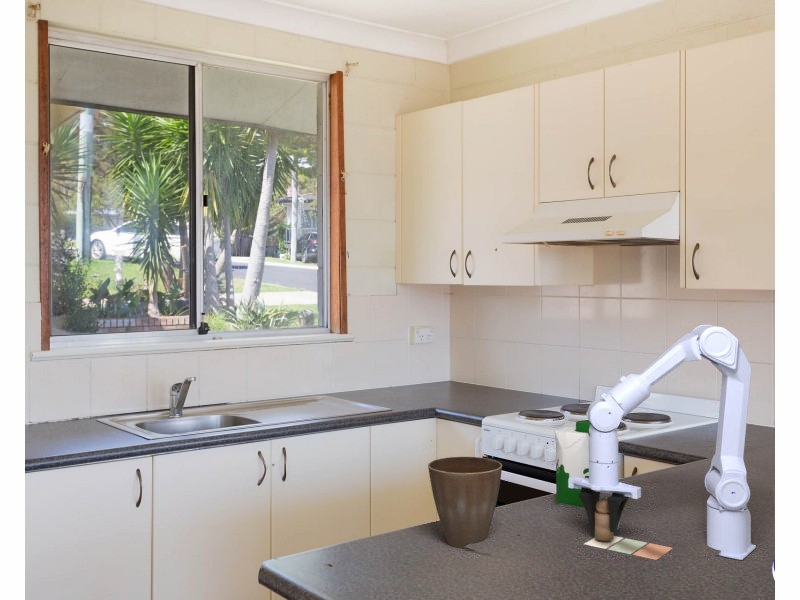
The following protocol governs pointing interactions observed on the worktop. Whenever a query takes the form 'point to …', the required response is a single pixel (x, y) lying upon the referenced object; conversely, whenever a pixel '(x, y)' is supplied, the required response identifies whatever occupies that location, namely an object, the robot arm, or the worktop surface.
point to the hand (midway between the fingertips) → (604, 528)
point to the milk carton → (571, 460)
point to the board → (631, 547)
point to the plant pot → (465, 496)
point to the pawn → (602, 521)
